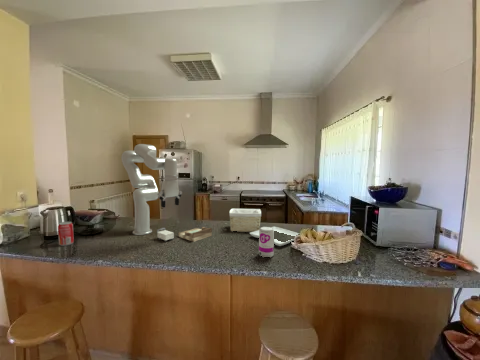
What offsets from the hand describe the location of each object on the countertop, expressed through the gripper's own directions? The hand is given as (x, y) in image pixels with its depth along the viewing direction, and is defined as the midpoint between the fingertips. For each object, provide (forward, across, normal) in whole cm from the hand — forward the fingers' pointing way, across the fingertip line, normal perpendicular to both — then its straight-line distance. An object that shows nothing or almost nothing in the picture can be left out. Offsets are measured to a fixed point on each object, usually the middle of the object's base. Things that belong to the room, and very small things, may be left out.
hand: (170, 205), depth 139 cm
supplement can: (+22, -22, +57) cm, 65 cm away
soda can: (+24, +43, -42) cm, 65 cm away
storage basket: (+23, -54, +19) cm, 61 cm away
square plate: (+23, -51, +48) cm, 74 cm away
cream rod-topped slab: (+23, -1, -6) cm, 24 cm away
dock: (+23, -18, +3) cm, 29 cm away
